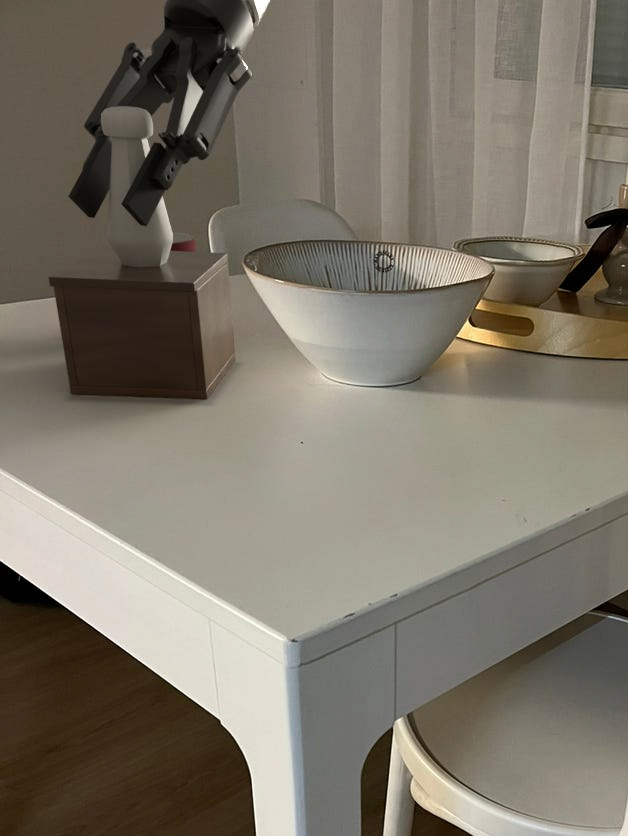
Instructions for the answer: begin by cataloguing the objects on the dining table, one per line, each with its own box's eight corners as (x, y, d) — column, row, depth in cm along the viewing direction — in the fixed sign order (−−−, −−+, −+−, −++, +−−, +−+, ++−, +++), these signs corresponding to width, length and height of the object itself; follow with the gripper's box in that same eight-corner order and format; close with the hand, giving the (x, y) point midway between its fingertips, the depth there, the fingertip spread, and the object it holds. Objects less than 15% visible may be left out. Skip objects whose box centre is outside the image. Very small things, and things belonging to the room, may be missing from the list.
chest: (207, 399, 96) (196, 290, 91) (70, 394, 95) (52, 284, 90) (235, 360, 107) (227, 262, 102) (114, 355, 107) (100, 256, 102)
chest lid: (194, 292, 90) (193, 282, 90) (49, 286, 90) (48, 276, 89) (227, 261, 102) (227, 253, 102) (100, 256, 102) (99, 247, 102)
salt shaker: (97, 263, 95) (75, 105, 88) (144, 255, 99) (126, 104, 93) (142, 271, 93) (123, 110, 86) (188, 262, 97) (173, 108, 90)
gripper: (118, -35, 95) (3, 170, 91) (278, -32, 88) (160, 192, 84) (166, 33, 102) (61, 227, 98) (318, 41, 95) (211, 252, 90)
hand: (107, 210), depth 91 cm, fingers open, 6 cm apart
